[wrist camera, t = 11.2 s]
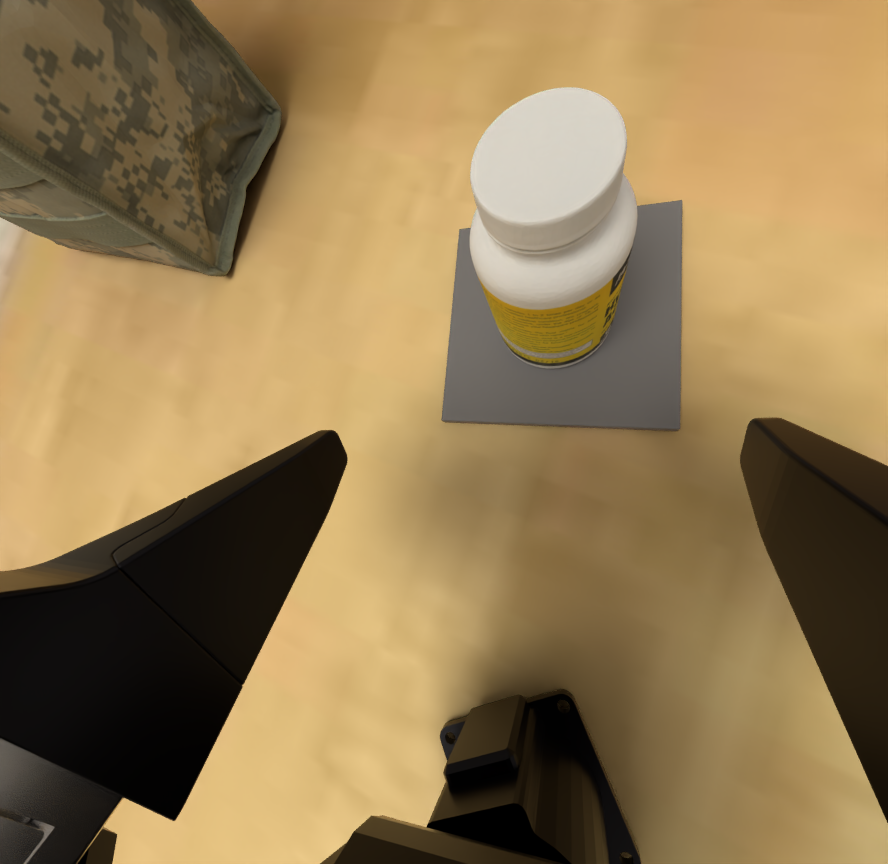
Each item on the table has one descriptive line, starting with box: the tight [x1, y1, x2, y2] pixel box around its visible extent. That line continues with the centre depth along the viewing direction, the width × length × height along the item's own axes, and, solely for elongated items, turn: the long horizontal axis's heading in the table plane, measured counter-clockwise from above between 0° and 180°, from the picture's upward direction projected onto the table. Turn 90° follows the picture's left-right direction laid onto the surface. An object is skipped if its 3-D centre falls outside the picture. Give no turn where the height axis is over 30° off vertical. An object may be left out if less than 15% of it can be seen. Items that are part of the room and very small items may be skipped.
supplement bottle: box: [470, 87, 637, 369], centre depth 14 cm, size 5×5×10 cm
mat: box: [442, 200, 682, 431], centre depth 19 cm, size 11×11×1 cm
